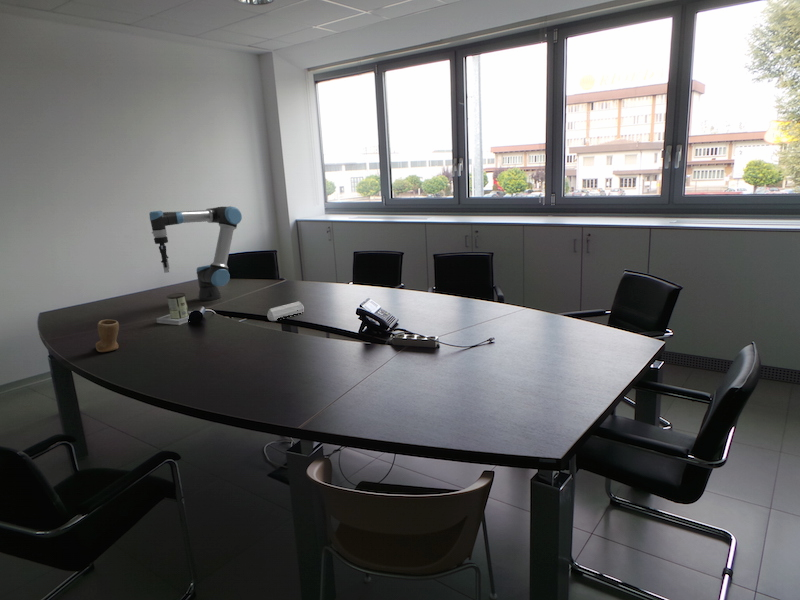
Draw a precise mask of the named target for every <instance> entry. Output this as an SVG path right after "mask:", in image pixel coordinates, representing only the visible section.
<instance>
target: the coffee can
mask: <svg viewBox="0 0 800 600" xmlns="http://www.w3.org/2000/svg"><path fill="white" fill-rule="evenodd" d="M166 298H167V304H168V309H169V314H170V316H171V319H177V320H179V319H182V318H185V317H188V316H189V314H188V311H189V309H188V303H187V297H186V293H185V292H175V293H172V294H168V295H166Z"/></svg>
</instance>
